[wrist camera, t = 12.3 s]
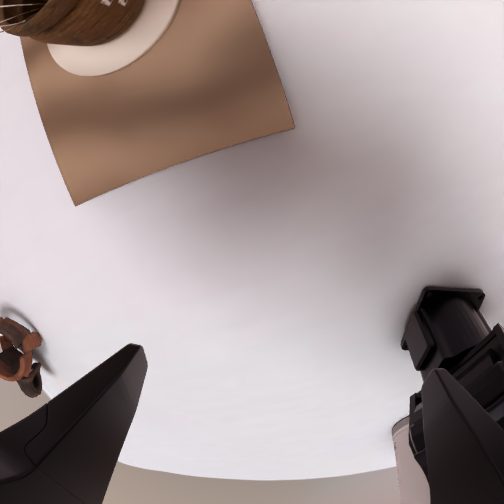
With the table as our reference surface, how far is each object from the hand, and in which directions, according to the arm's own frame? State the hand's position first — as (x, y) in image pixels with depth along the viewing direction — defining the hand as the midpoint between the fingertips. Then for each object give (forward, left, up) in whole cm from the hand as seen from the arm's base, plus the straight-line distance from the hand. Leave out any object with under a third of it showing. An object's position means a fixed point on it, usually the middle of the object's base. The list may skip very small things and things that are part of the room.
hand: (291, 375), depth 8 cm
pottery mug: (+32, +20, -13) cm, 40 cm away
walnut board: (+12, -14, -13) cm, 23 cm away
